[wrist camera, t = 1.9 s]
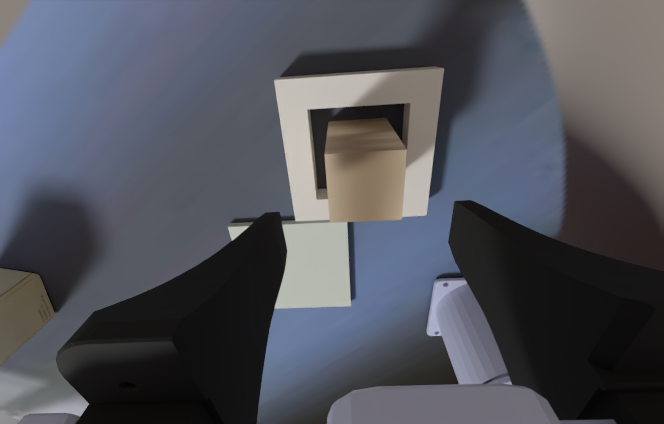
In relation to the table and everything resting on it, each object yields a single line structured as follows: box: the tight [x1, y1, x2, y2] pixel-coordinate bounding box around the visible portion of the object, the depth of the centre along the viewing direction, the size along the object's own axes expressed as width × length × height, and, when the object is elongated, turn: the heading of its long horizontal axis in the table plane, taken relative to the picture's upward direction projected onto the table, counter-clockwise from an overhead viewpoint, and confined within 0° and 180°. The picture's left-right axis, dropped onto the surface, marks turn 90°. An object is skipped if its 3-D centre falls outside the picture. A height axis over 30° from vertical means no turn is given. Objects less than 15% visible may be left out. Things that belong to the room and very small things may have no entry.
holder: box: [274, 66, 444, 221], centre depth 20 cm, size 10×10×2 cm
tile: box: [228, 220, 351, 309], centre depth 26 cm, size 10×10×1 cm
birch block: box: [324, 118, 407, 223], centre depth 18 cm, size 4×4×7 cm
